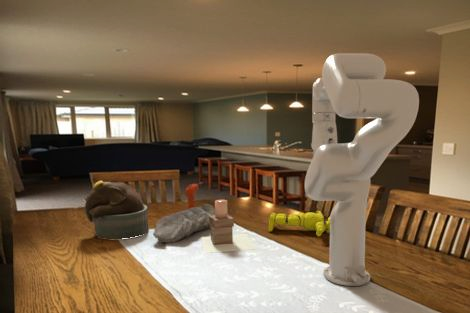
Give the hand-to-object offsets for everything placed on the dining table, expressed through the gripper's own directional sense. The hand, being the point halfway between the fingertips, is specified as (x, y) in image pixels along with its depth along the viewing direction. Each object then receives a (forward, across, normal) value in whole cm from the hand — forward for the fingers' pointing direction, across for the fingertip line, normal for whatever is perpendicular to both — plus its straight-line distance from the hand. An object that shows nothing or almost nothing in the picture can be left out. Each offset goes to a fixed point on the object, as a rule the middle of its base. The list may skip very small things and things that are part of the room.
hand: (323, 169), depth 124 cm
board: (+28, +14, +30) cm, 43 cm away
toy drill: (+28, +68, +35) cm, 81 cm away
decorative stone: (+28, +30, +44) cm, 60 cm away
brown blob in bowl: (+28, +39, +70) cm, 85 cm away
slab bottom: (+27, +16, +32) cm, 45 cm away
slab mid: (+24, +16, +32) cm, 43 cm away
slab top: (+21, +16, +32) cm, 42 cm away
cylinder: (+18, +16, +32) cm, 40 cm away
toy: (+28, +22, -4) cm, 36 cm away
